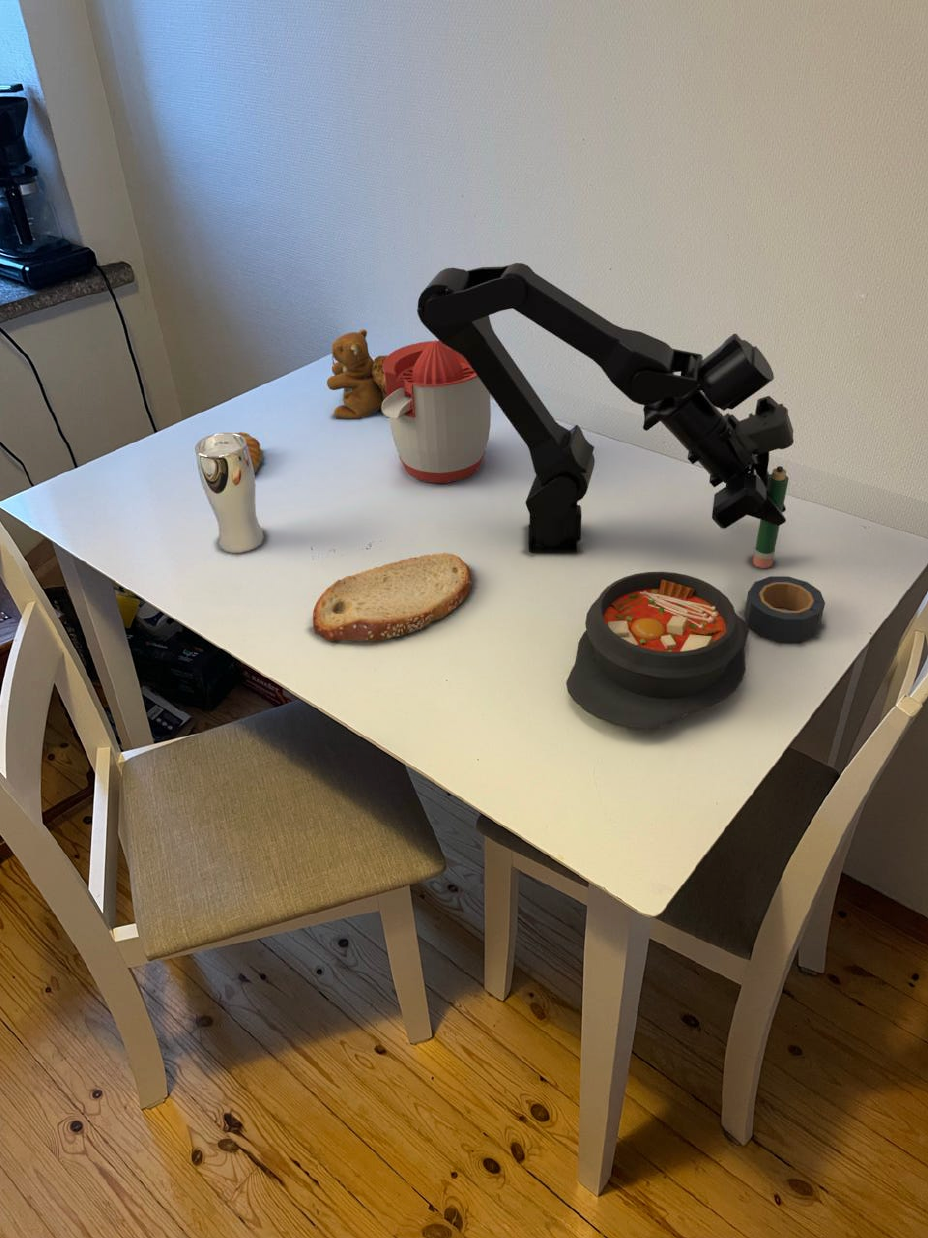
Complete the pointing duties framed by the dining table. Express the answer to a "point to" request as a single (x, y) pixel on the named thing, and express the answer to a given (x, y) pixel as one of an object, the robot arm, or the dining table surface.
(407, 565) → the slice of bread
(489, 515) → the dining table surface
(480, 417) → the citrus juicer
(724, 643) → the casserole
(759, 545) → the pencil
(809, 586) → the tape roll
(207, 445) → the beer glass
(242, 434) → the pastry
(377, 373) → the stuffed squirrel
